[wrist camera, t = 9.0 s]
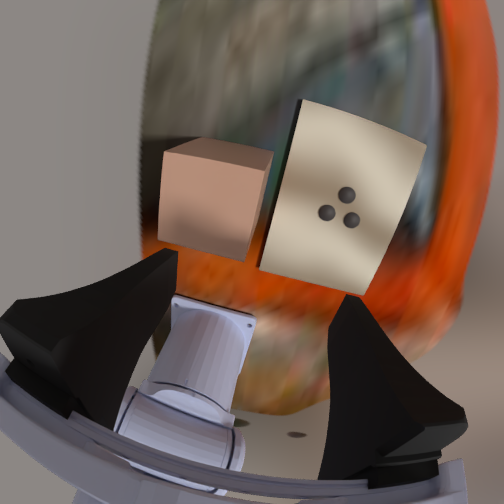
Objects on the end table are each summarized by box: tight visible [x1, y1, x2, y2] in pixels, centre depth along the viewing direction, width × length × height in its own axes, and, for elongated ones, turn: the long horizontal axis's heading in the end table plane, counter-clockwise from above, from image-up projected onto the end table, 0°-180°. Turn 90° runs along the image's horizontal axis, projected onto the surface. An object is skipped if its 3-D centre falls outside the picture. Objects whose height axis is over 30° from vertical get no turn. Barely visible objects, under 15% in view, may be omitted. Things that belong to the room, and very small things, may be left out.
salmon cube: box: [158, 137, 274, 262], centre depth 16 cm, size 5×5×6 cm
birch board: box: [259, 100, 427, 295], centre depth 18 cm, size 13×9×1 cm
